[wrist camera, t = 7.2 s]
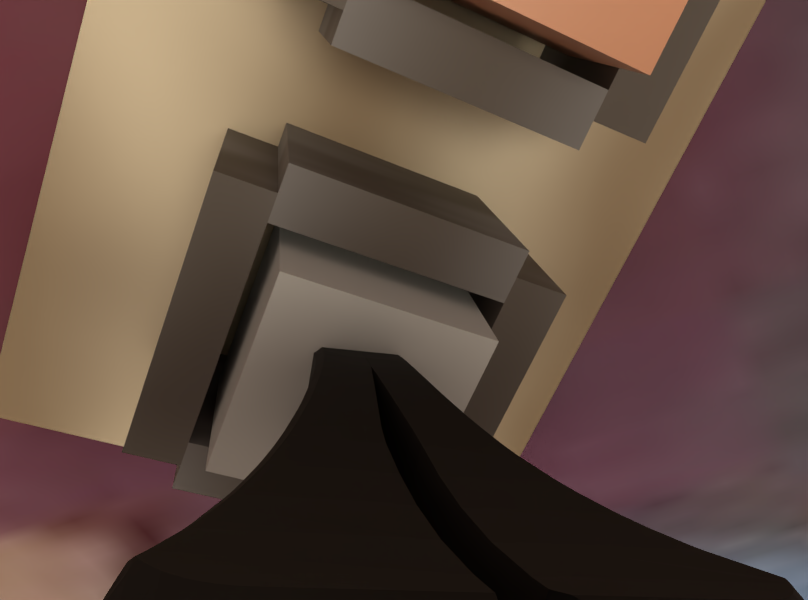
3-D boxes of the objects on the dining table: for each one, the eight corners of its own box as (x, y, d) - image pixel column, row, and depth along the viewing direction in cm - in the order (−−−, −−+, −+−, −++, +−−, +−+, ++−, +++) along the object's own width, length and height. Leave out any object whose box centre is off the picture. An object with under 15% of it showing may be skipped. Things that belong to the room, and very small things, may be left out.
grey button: (456, 272, 14) (498, 341, 11) (386, 423, 15) (410, 518, 13) (279, 211, 13) (279, 271, 10) (219, 377, 14) (205, 471, 11)
